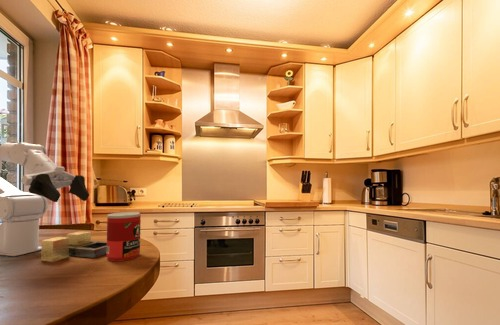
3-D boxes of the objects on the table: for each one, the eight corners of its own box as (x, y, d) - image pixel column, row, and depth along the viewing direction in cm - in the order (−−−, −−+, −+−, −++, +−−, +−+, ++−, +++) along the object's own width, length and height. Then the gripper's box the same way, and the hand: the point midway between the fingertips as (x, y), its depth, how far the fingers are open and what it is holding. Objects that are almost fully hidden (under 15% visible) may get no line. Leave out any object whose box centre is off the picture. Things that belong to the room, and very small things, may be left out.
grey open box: (54, 254, 70) (55, 235, 70) (81, 246, 77) (82, 229, 78) (93, 258, 66) (94, 238, 66) (118, 249, 73) (119, 232, 73)
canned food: (127, 262, 62) (128, 216, 63) (98, 260, 63) (99, 215, 64) (146, 253, 69) (146, 212, 70) (120, 252, 71) (120, 211, 72)
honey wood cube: (40, 260, 64) (41, 240, 65) (57, 256, 68) (58, 236, 68) (52, 262, 63) (53, 241, 63) (68, 257, 67) (69, 237, 67)
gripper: (20, 154, 64) (49, 184, 59) (77, 160, 77) (104, 185, 73) (8, 178, 64) (36, 210, 60) (66, 180, 78) (92, 206, 73)
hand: (72, 198), depth 66 cm, fingers open, 7 cm apart
